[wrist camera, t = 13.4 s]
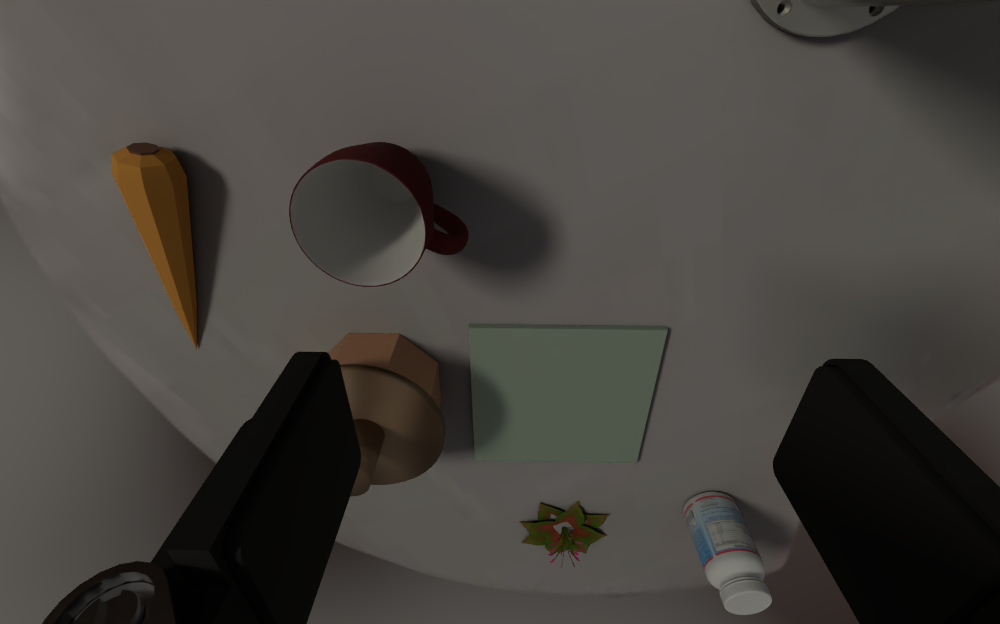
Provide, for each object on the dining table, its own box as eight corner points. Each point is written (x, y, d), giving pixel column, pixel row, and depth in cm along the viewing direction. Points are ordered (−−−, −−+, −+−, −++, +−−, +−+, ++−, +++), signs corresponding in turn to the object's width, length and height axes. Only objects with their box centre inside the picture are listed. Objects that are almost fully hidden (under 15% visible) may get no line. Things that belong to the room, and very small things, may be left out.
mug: (493, 158, 34) (486, 204, 26) (459, 250, 39) (444, 315, 30) (353, 104, 33) (297, 134, 24) (334, 206, 37) (280, 262, 28)
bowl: (435, 334, 43) (425, 376, 38) (443, 422, 49) (435, 468, 44) (312, 332, 43) (286, 374, 38) (336, 420, 50) (316, 466, 45)
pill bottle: (707, 525, 58) (745, 624, 49) (671, 508, 56) (703, 607, 47) (745, 500, 55) (793, 600, 46) (709, 482, 54) (751, 581, 44)
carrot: (151, 131, 35) (85, 144, 31) (196, 151, 34) (133, 167, 30) (200, 327, 47) (157, 352, 44) (234, 346, 46) (192, 373, 43)
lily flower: (624, 504, 57) (632, 539, 53) (592, 556, 63) (597, 591, 59) (530, 487, 56) (532, 522, 52) (507, 542, 62) (506, 577, 58)
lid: (438, 364, 37) (427, 419, 32) (450, 477, 45) (442, 535, 40) (268, 363, 38) (231, 416, 33) (308, 474, 45) (282, 532, 40)
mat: (665, 326, 42) (667, 330, 42) (635, 459, 52) (636, 463, 51) (469, 324, 43) (468, 327, 42) (475, 456, 52) (474, 460, 52)
